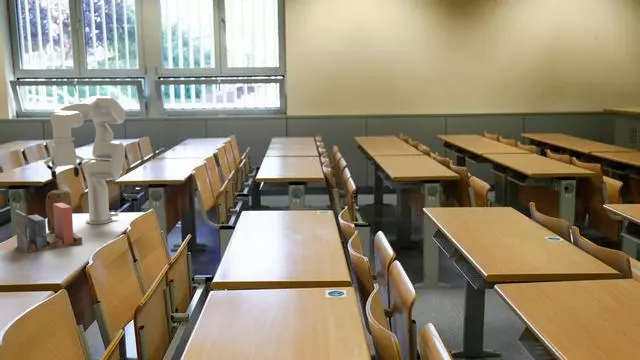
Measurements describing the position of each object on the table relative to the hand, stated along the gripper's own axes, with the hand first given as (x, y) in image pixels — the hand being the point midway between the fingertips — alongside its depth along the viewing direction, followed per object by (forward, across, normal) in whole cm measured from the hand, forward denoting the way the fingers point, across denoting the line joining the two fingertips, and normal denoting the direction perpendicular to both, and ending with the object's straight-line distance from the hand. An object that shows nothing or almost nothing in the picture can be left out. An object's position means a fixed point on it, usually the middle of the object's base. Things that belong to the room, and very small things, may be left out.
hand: (65, 177), depth 274 cm
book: (+26, +6, +10) cm, 29 cm away
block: (+28, +1, -10) cm, 30 cm away
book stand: (+27, +12, +10) cm, 31 cm away
